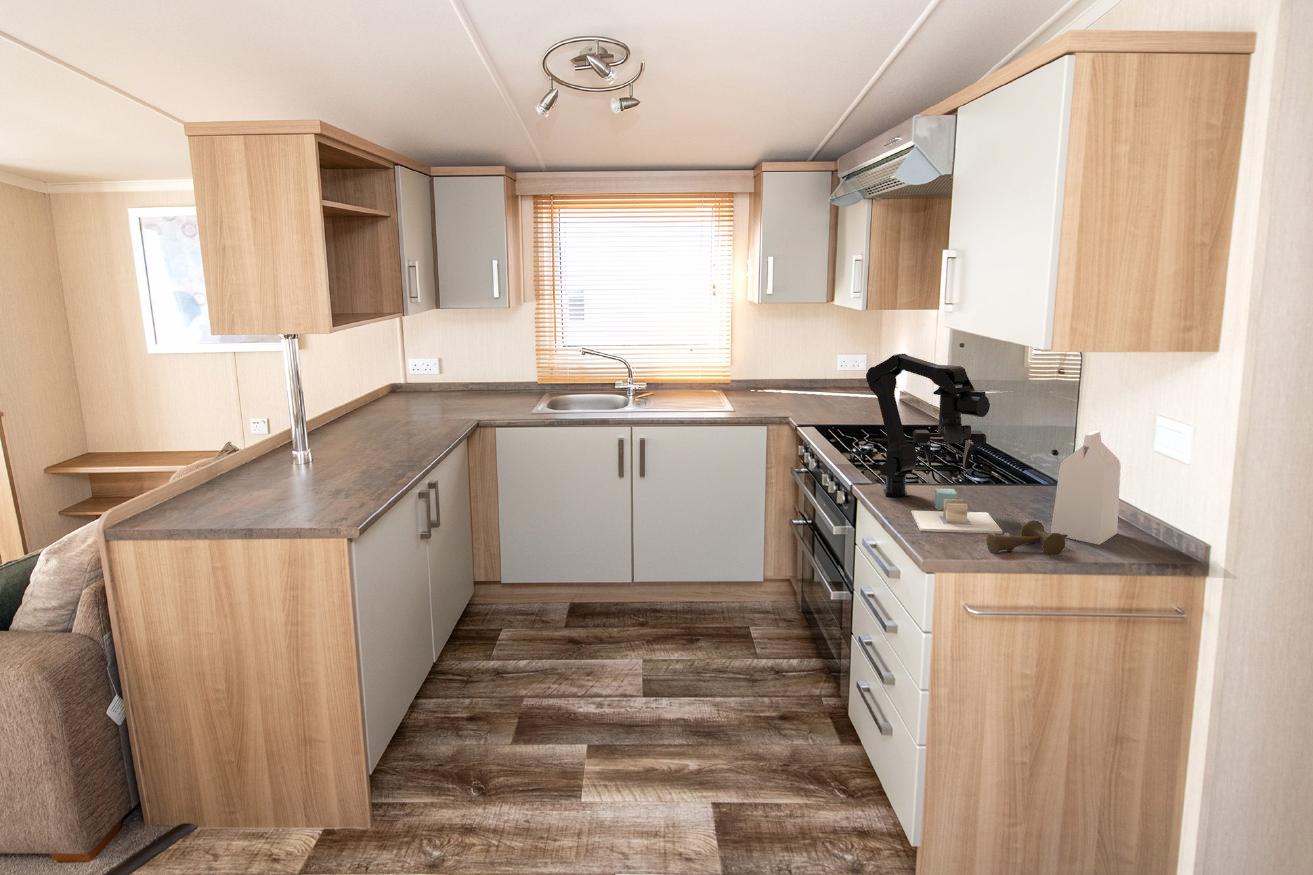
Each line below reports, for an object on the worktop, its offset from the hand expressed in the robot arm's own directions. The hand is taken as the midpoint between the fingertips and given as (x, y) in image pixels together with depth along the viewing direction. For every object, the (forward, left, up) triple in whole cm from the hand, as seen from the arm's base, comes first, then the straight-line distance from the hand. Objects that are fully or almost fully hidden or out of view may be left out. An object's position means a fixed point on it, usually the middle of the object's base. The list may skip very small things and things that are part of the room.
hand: (947, 467), depth 225 cm
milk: (+20, +30, -12) cm, 38 cm away
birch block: (+14, 0, -11) cm, 18 cm away
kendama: (+34, +13, -12) cm, 38 cm away
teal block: (0, 0, -12) cm, 12 cm away
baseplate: (+14, 0, -12) cm, 18 cm away
